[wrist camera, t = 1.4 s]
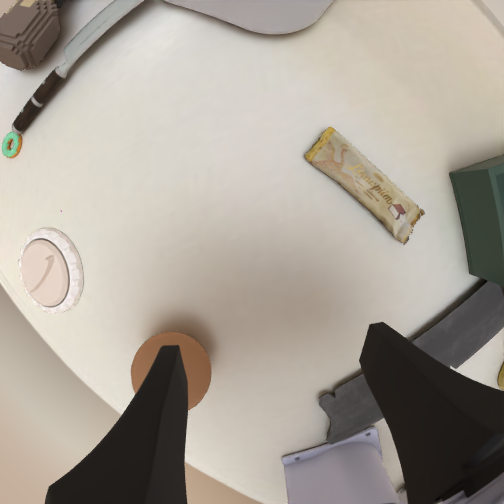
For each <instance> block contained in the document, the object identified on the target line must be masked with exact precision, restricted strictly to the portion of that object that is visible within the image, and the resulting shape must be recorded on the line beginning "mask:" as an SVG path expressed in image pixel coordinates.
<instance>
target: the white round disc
mask: <svg viewBox="0 0 504 504" xmlns="http://www.w3.org/2000/svg"><path fill="white" fill-rule="evenodd" d="M37 238H44V239H41V240H35V241H33V240H34V239H37ZM46 239H48V240H46ZM49 240H50V241H49ZM31 241H33V242H31ZM30 242H31V243H30ZM29 243H30V244H29ZM28 244H29V245H28ZM27 245H28V246H27ZM26 246H27V247H26ZM25 248H26V249H25ZM24 250H25V251H24ZM20 252H21V255H20V259H19V263H18V265H19V267H20V279H21V281H22V282H23V285H24V287H25V292H26V294H27V295H29V296H30V298H31V299H32V300H33V303H34V304H35V305H36V306H39V307H40V308H42V309H43V310H44V311H45V312H51V313H55V314H56V313H61V312H65V311H67V310H69V309H71V308H72V307H73V306H74V305H75V304H76V303H77V301H78V300H79V297H80V295H81V292H82V288H83V268H82V264H81V260H80V257H79V255H78V252H77V250H76V248H75V247H74V245H73V243H72V242H71V241H70V240H69V238H68V237H67V236H65V235H64V234H63V233H62V232H60V231H58V230H56V229H52V228H43V229H40V230H37V231H35V232H34V233H32V234H31V235H29V236H28V237H27V238H26V241H25V243H24V245H23V246H22V247H21V250H20ZM66 296H67V297H66ZM64 299H65V300H64ZM63 300H64V301H63ZM61 302H62V303H61ZM59 303H61V304H60V305H58V306H56V307H51V308H50V307H45V306H55V305H57V304H59ZM40 304H41V305H40ZM42 305H44V306H42Z"/></svg>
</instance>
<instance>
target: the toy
mask: <svg viewBox="0 0 504 504" xmlns="http://www.w3.org/2000/svg"><path fill="white" fill-rule="evenodd" d="M65 1H66V0H17V1H16V2H15V3H14V5H13V6H12V7H11V8H10V9H9V11H8V12H7V13H4V14H3V16H2V17H1V18H0V61H1V62H2V63H3V64H6V66H8V67H12V68H15V69H18V70H21V71H22V70H24V69H31V68H33V67H34V66H36V65H37V64H38V63H39V61H40V62H41V61H42V59H43V58H44V56H45V55H46V53H47V52H48V51H49V49H50V48H51V46H52V45H53V43H54V42H55V41H56V39H57V38H58V34H59V33H60V25H59V17H58V10H57V8H60V7H61V6H62V5H63V3H64V2H65Z"/></svg>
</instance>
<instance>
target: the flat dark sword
mask: <svg viewBox="0 0 504 504" xmlns="http://www.w3.org/2000/svg"><path fill="white" fill-rule="evenodd" d="M503 327H504V287H503V286H500V285H498V284H495V283H493V282H490V281H487V282H486V283H485V284H484V285H483V286H482V287H481V288H479V289H478V290H477V291H476V292H475V293H474V294H473V295H471V296H470V297H469V298H468V299H467V300H466V301H464V302H463V303H462V304H461V305H460V306H458V307H457V308H456V309H455V310H453V311H452V312H451V313H450V314H448V315H447V316H446V317H445V318H443V319H442V320H441V321H439V322H438V323H437V324H436V325H434V326H433V327H432V328H430V329H429V330H428V331H426V332H425V333H423V334H422V335H421V336H419V337H418V338H416V339H415V340H414V341H412V342H411V343H413V344H414V345H416V346H417V347H418V348H420V349H421V350H423V351H424V352H425V353H427V354H428V355H430V356H431V357H433V358H434V359H436V360H437V361H439V362H441V363H442V364H444V365H445V366H447V367H449V368H450V365H451V366H452V367H454V368H455V369H456V368H458V367H459V366H460V365H461V364H463V363H464V362H465V361H466V360H468V359H469V358H470V357H471V356H472V355H474V354H475V353H476V352H477V351H478V350H479V349H480V348H482V347H483V346H484V345H485V344H486V343H487V342H488V341H489V340H491V339H492V338H493V337H494V336H495V335H496V334H497V333H498V332H499V331H500V330H501V329H502V328H503ZM319 398H320V401H319V405H320V406H321V407H322V409H323V410H324V411H325V412H326V413H327V415H328V416H329V417H330V418H331V426H330V430H329V432H328V433H327V441H328V442H329V443H330V444H331V445H332V444H335V443H337V442H339V441H341V440H343V439H345V438H347V437H349V436H351V435H353V434H355V433H357V432H359V431H361V430H363V429H364V428H366V427H368V426H370V425H372V424H374V423H375V422H377V421H379V420H381V419H382V418H384V416H383V414H382V412H381V410H380V408H379V406H378V404H377V402H376V400H375V398H374V396H373V394H372V392H371V390H370V388H369V386H368V384H367V382H366V379H365V377H364V374H363V373H362V374H361V375H359V376H357V377H356V378H354V379H352V380H350V381H349V382H347V383H345V384H343V385H342V386H340V387H338V388H336V389H335V395H333V394H329V393H327V394H325V395H323V396H321V397H319Z"/></svg>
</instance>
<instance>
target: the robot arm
mask: <svg viewBox="0 0 504 504" xmlns="http://www.w3.org/2000/svg"><path fill="white" fill-rule="evenodd" d="M359 362H360V365H361V368H362V371H363V374H364V377H365V379H366V382H367V384H368V386H369V388H370V390H371V392H372V394H373V396H374V398H375V400H376V402H377V404H378V406H379V408H380V410H381V412H382V414H383V416H384V418H385V420H386V422H387V424H388V427H389V429H390V431H391V434H392V437H393V440H394V443H395V446H396V450H397V453H398V457H399V460H400V464H401V468H402V472H403V477H404V482H405V488H406V494H407V502H408V504H438V503H439V502H441V501H443V502H442V503H440V504H504V391H502V390H498V389H495V388H492V387H489V386H486V385H484V384H481V383H479V382H477V381H474V380H472V379H470V378H468V377H465V376H464V375H462V374H460V373H458V372H456V371H454V370H452V369H450V368H449V367H447V366H445V365H444V364H442V363H441V362H439V361H437V360H436V359H434V358H433V357H431V356H430V355H428V354H427V353H425V352H424V351H423V350H421V349H420V348H418V347H417V346H416V345H414V344H413V343H411V342H410V341H409V340H407V339H406V338H405V337H403V336H402V335H401V334H399V333H398V332H397V331H395V330H394V329H392V328H391V327H390V326H388V325H387V324H385V323H384V322H380V323H374V324H370V325H369V329H368V332H367V336H366V339H365V343H364V346H363V349H362V353H361V356H360V359H359ZM187 416H188V380H187V376H186V372H185V368H184V364H183V360H182V355H181V351H180V347H179V345H163V346H162V347H160V349H159V352H158V354H157V356H156V358H155V360H154V362H153V364H152V366H151V368H150V370H149V372H148V374H147V375H146V377H145V379H144V381H143V382H142V384H141V386H140V388H139V390H138V391H137V393H136V394H135V396H134V398H133V399H132V401H131V402H130V404H129V405H128V407H127V408H126V410H125V411H124V413H123V414H122V416H121V417H120V418H119V420H118V421H117V422H116V424H115V425H114V426H113V427H112V429H111V430H110V431H109V432H108V434H107V435H106V436H105V437H104V438H103V439H102V440H101V442H100V443H99V444H98V445H97V446H96V447H95V448H94V449H93V450H92V451H91V452H90V453H89V454H88V455H87V456H86V457H85V458H84V459H83V460H82V461H81V462H80V463H78V464H77V465H76V466H75V467H74V468H73V469H72V470H70V472H68V473H67V474H65V475H64V476H63V477H61V478H60V479H59V480H57V481H56V482H55V483H53V484H52V485H50V486H49V489H48V492H47V495H46V499H45V504H187V495H186V483H185V466H184V460H185V442H186V429H187ZM367 433H368V434H367ZM296 457H298V458H296ZM282 463H283V465H284V469H285V478H286V487H287V497H288V504H405V503H404V501H400V500H399V497H398V495H397V493H396V491H395V488H394V486H393V484H392V482H391V480H390V477H389V475H388V473H387V471H386V469H385V467H384V464H383V460H382V454H381V448H380V442H379V436H378V430H377V428H376V427H371V428H368V429H366V430H363V431H361V432H358V433H356V434H353V435H351V436H349V437H347V438H345V439H343V440H341V441H339V442H337V443H335V444H332V445H331V444H330V443H328V444H325V445H322V446H319V447H316V448H313V449H309V450H306V451H303V452H299V453H296V454H292V455H288V456H285V457H283V458H282Z"/></svg>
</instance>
